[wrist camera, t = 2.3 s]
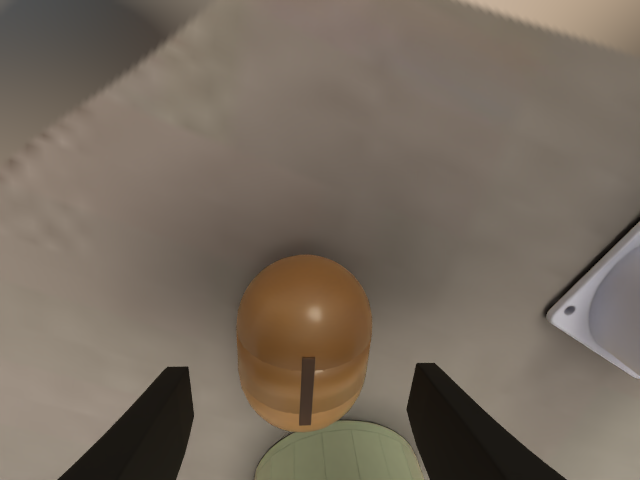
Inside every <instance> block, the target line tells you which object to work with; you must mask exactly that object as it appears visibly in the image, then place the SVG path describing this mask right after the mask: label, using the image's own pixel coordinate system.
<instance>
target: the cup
mask: <svg viewBox="0 0 640 480" xmlns="http://www.w3.org/2000/svg"><path fill="white" fill-rule="evenodd" d="M254 480H425V479H424V477H423V474H422V471H421V469H420V466H419V464H418V461H417V458H416V455H415V453H414V451H413V449H412V448H411V446H410V445H409V443H408V442H407V441H406V440H405V439H404V438H403V437H401V436H400V435H399V434H397V433H396V432H394V431H392V430H390V429H388V428H386V427H383V426H380V425H377V424H373V423H369V422H362V421H336V422H335V423H333V424H331V425H329V426H327V427H326V428H323V429H320V430H316V431H311V432H295V433H293V434H291V435H289V436H287V437H285V438H284V439H282V440H281V441H279V442H278V443H277V444H275V445H274V446H273V447H272V448H271V449H270V450H269V451H268V452H267V453H266V454H265V455H264V457H263V458H262V460H261V461H260V463H259V465H258V467H257V469H256V473H255V476H254Z"/></svg>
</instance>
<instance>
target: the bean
mask: <svg viewBox="0 0 640 480" xmlns="http://www.w3.org/2000/svg"><path fill="white" fill-rule="evenodd" d="M236 330H237V352H238V372H239V376H240V382H241V386H242V390H243V392H244V394H245V396H246V398H247V400H248V402H249V403H250V405H251V407H252V408H253V409H254V410H255V411H256V412H257V414H258V415H260V416H261V417H262V418H263V419H264V420H266V421H267V422H268V423H270V424H271V425H273V426H275V427H278V428H280V429H283V430H287V431H291V432H311V431H316V430H320V429H323V428H326V427H327V426H329V425H331V424H333V423H335V422H336V421H337V420H339V419H340V418H341V417H342V416H343V415H345V414H346V413H347V412H348V411H349V410H350V408H351V407H352V405H353V404H354V403H355V401H356V399H357V398H358V396H359V394H360V392H361V389H362V387H363V383H364V380H365V376H366V370H367V363H368V356H369V349H370V342H371V335H372V314H371V310H370V305H369V301H368V298H367V296H366V294H365V292H364V290H363V288H362V286H361V284H360V283H359V282H358V281H357V279H356V278H355V277H354V276H353V275H352V274H351V273H350V272H349V271H348V270H347V269H345V268H344V267H343V266H341V265H340V264H338V263H337V262H334V261H332V260H330V259H327V258H324V257H320V256H316V255H296V256H291V257H286V258H283V259H280V260H278V261H276V262H274V263H272V264H271V265H269V266H267V267H266V268H265V269H263V270H262V271H261V272H260V273H259V274H258V275H257V276H256V277H255V278H254V279H253V280H252V281H251V283H250V284H249V286H248V288H247V289H246V291H245V293H244V295H243V297H242V299H241V302H240V305H239V309H238V316H237V326H236Z"/></svg>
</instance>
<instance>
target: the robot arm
mask: <svg viewBox="0 0 640 480" xmlns="http://www.w3.org/2000/svg"><path fill="white" fill-rule="evenodd" d="M546 317H547V320H548V321H549V322H550V323H551V324H553V325H554V326H556V327H557V328H559V329H560V330H562V331H563V332H565V333H566V334H568V335H569V336H571V337H572V338H574V339H576V340H577V341H579V342H580V343H582V344H583V345H585V346H586V347H588V348H589V349H591V350H592V351H594V352H595V353H597V354H599V355H600V356H602V357H603V358H605V359H606V360H608V361H609V362H611V363H612V364H614V365H615V366H617V367H618V368H620V369H622V370H623V371H625V372H626V373H628V374H629V375H631V376H632V377H634V378H636V379H640V221H639V222H638V223H637V224H636V225H635V226H634V227H633V228H632V229H631V230H630V231H629V232H628V233H627V234H626V235H625V236H624V237H623V238H622V239H621V240H620V241H619V242H618V243H617V244H616V245H615V246H614V247H613V248H612V249H611V250H610V251H609V252H608V253H607V254H606V255H605V256H604V257H603V258H602V259H601V260H599V261H598V262H597V263H596V264H595V265H594V266H593V267H592V268H591V269H590V270H589V271H588V272H587V273H586V274H585V275H584V276H583V277H582V278H581V279H580V280H579V281H578V282H577V283H576V284H575V285H574V286H573V287H572V288H571V289H570V290H569V291H568V292H567V293H566V294H565V295H564V296H563V297H562V298H561V299H560V300H559V301H558V302H557V303H556V304H555V305H554V306H553V307H552V308H551V309H550V310H549V311H548V312H547V315H546ZM407 413H408V417H409V421H410V424H411V428H412V432H413V435H414V439H415V442H416V445H417V448H418V450H419V453H420V455H421V458H422V460H423V463H424V466H425V468H426V471H427V473H428V476H429V478H430V480H567V479H565V478H564V477H563V476H561V475H560V474H559V473H558V472H556V471H555V470H554V469H552V468H551V467H550V466H548V465H547V464H546V463H545V462H543V461H542V460H541V459H540V458H538V457H537V456H536V455H535V454H533V453H532V452H531V451H530V450H529V449H527V448H526V447H525V446H524V445H523V444H522V443H520V442H519V441H518V440H517V439H516V438H515V437H513V436H512V435H511V434H510V433H509V432H508V431H506V430H505V429H504V428H503V427H502V426H501V425H500V424H499V423H497V422H496V421H495V420H494V419H493V418H492V417H491V416H490V415H489V414H488V413H486V412H485V411H484V410H483V409H482V408H481V407H480V406H479V405H478V404H477V403H476V402H475V401H474V400H473V399H472V398H471V397H469V396H468V395H467V394H466V393H465V392H464V391H463V390H462V389H461V388H460V387H459V386H458V385H457V384H456V383H455V382H454V381H453V380H452V379H451V378H450V377H449V376H448V375H447V374H446V373H445V372H444V371H443V370H442V369H440V368H439V367H438V366H437V365H436V364H435V363H417V364H416V368H415V373H414V377H413V382H412V386H411V391H410V396H409V400H408V405H407ZM193 418H194V411H193V402H192V394H191V385H190V377H189V369H188V367H167V368H166V369H165V370H164V371H163V372H162V373H161V374H160V375H159V376H158V377H157V378H156V379H155V381H154V382H153V383H152V384H151V385H150V386H149V387H148V388H147V390H146V391H145V392H144V393H143V394H142V395H141V396H140V397H139V398H138V399H137V401H136V402H135V403H134V404H133V405H132V406H131V407H130V408H129V409H128V410H127V411H126V412H125V413H124V414H123V415H122V417H121V418H120V419H119V420H118V421H117V422H116V423H115V424H114V425H113V426H112V427H111V428H110V429H109V430H108V431H107V432H106V433H105V434H104V435H103V436H102V437H101V438H100V439H99V440H98V441H97V442H96V443H95V444H94V445H93V446H92V447H91V448H90V449H89V450H88V451H87V452H86V453H85V454H84V455H83V456H82V457H81V458H80V459H79V460H78V461H77V462H76V463H75V464H74V465H73V466H72V467H70V468H69V469H68V470H67V471H66V472H65V473H64V474H63V475H62V476H61V477H60V478H59V479H58V480H176V478H177V475H178V472H179V469H180V466H181V464H182V461H183V458H184V455H185V452H186V448H187V444H188V440H189V435H190V431H191V427H192V422H193Z"/></svg>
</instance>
